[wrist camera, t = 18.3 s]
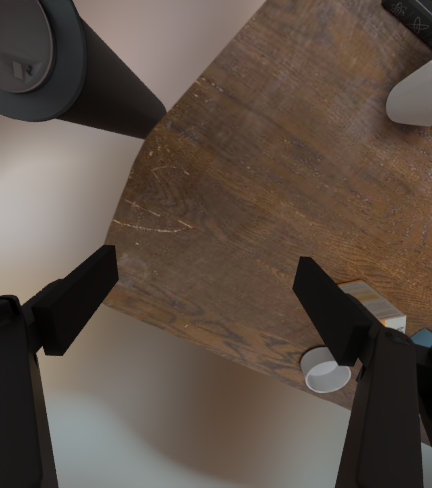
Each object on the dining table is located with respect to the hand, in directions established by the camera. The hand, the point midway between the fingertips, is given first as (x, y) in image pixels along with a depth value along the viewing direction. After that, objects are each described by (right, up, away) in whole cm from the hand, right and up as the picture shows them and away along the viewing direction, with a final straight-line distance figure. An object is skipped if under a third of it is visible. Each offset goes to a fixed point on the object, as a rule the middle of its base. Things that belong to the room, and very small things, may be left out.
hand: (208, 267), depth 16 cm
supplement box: (+32, -9, +37) cm, 50 cm away
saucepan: (+32, -27, +45) cm, 61 cm away
